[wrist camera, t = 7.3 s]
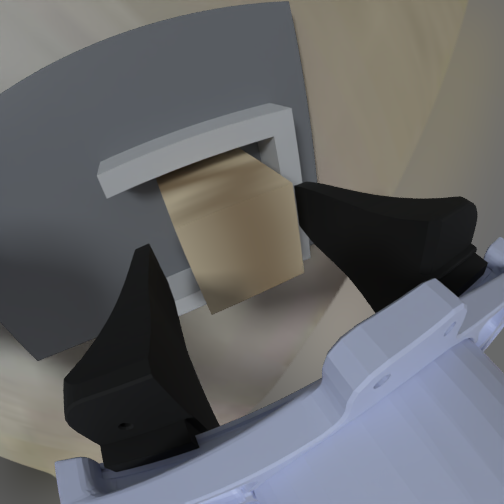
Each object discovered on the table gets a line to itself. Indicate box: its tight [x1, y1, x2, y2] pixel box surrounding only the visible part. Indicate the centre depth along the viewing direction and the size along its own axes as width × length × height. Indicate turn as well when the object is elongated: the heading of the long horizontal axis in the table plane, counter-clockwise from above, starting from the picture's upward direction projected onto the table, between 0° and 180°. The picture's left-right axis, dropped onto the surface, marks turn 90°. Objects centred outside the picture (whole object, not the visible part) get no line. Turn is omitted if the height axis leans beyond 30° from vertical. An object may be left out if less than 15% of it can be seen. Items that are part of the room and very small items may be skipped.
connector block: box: [156, 148, 304, 315], centre depth 12 cm, size 4×4×5 cm
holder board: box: [0, 1, 317, 361], centre depth 12 cm, size 20×14×3 cm
